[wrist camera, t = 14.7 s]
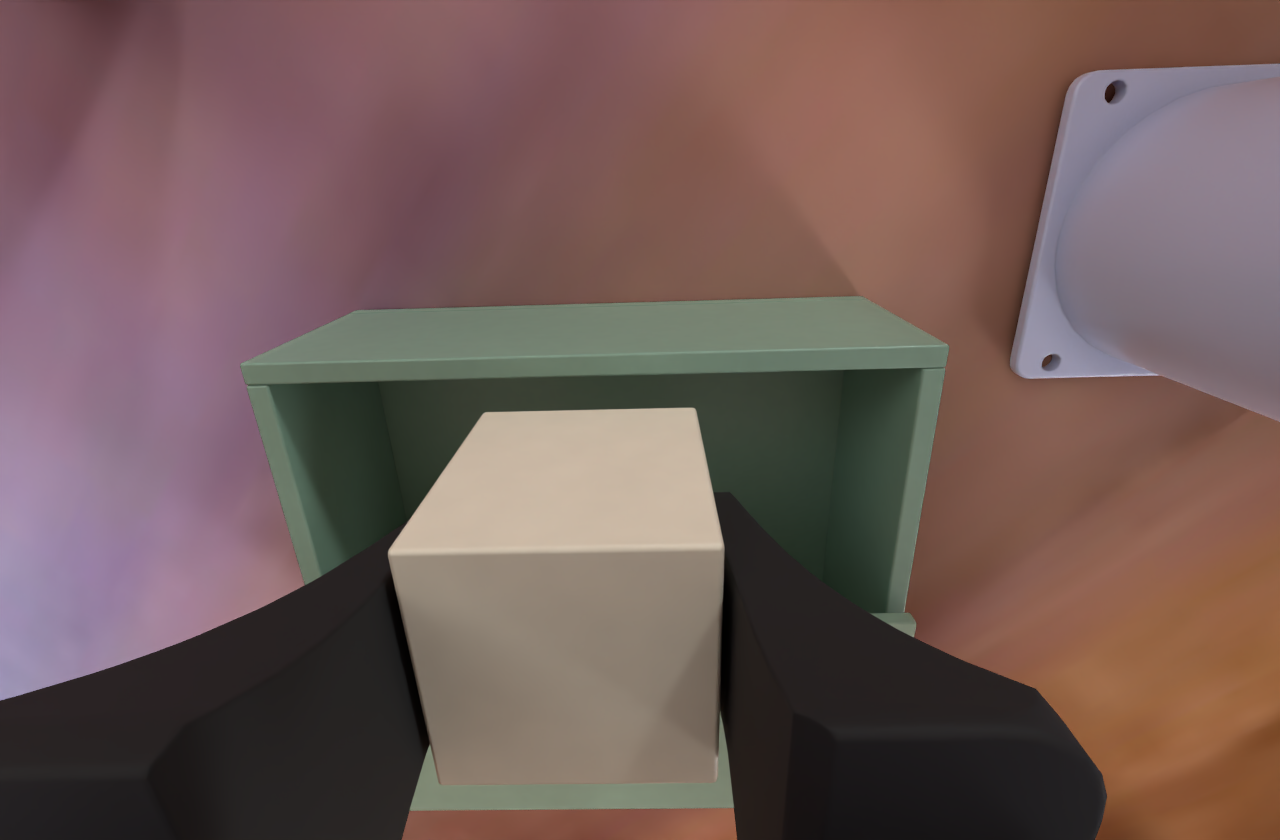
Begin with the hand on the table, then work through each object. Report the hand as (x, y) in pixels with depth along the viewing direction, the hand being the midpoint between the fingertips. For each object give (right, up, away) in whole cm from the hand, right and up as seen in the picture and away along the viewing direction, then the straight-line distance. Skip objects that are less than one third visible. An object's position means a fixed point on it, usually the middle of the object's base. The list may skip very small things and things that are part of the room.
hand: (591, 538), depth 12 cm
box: (0, 0, +8) cm, 8 cm away
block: (0, +1, +1) cm, 1 cm away
